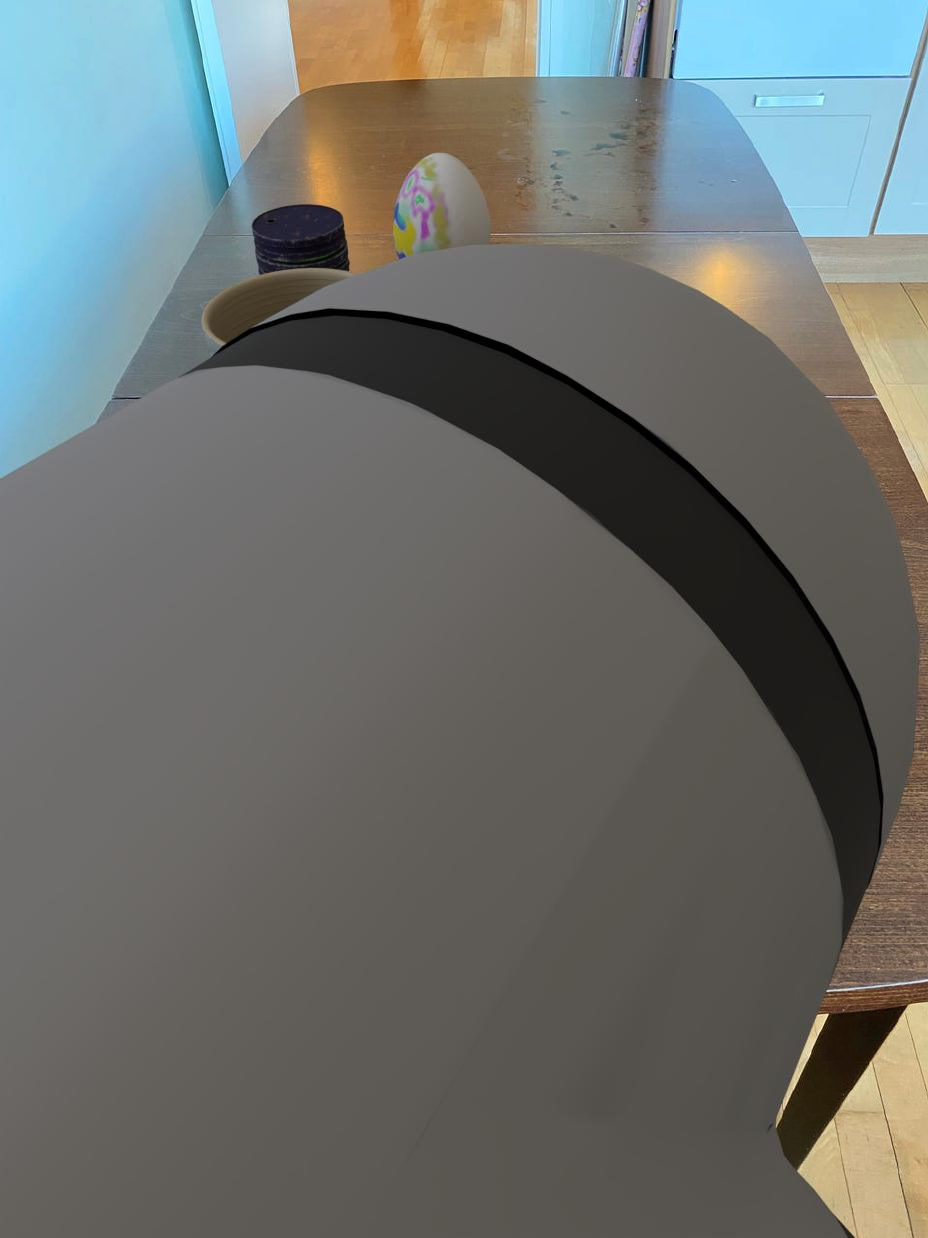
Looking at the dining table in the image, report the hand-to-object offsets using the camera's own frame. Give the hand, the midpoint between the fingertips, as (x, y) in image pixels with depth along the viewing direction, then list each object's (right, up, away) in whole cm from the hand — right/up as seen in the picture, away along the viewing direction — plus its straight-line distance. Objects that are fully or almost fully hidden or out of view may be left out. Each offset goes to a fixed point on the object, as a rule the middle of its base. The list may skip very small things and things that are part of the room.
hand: (463, 726), depth 54 cm
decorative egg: (-3, +51, +69) cm, 86 cm away
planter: (-14, +23, +41) cm, 49 cm away
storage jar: (-17, +37, +56) cm, 69 cm away
